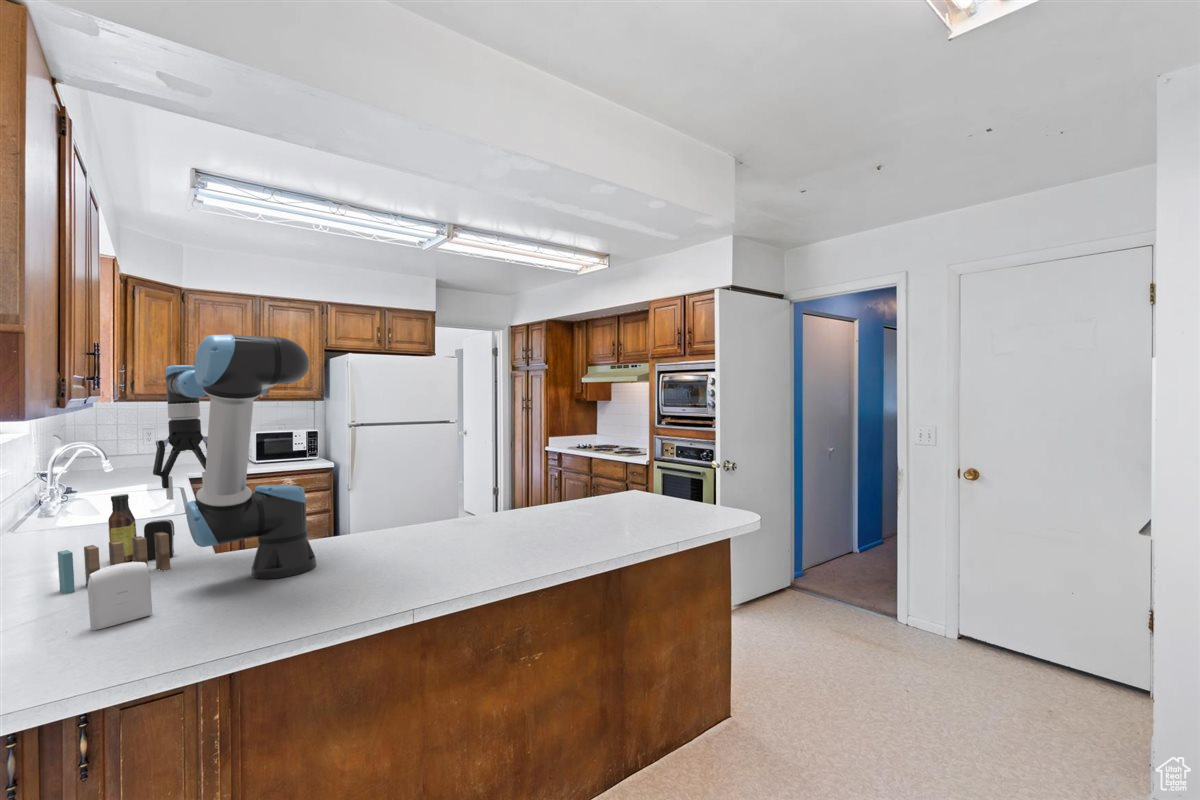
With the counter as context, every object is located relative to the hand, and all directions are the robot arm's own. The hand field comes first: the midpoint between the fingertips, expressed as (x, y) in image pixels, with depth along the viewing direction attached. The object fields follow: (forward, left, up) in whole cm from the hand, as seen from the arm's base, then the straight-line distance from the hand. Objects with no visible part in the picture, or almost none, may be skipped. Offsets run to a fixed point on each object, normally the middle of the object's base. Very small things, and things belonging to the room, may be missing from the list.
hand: (188, 496), depth 164 cm
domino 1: (0, +27, -19) cm, 33 cm away
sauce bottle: (+22, +10, -20) cm, 31 cm away
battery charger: (+15, +3, -20) cm, 25 cm away
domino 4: (0, +12, -19) cm, 23 cm away
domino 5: (0, +7, -19) cm, 21 cm away
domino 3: (0, +17, -19) cm, 26 cm away
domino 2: (0, +22, -19) cm, 29 cm away
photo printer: (-39, +26, -20) cm, 51 cm away
